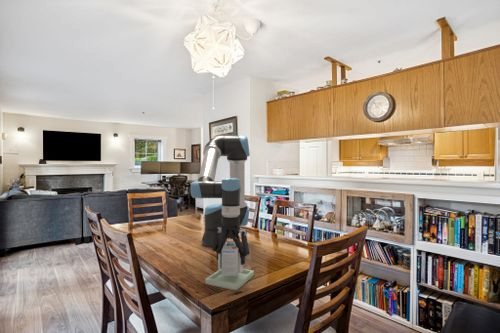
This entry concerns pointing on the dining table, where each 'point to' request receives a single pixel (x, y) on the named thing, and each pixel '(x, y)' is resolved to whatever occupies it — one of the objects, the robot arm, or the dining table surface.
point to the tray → (229, 279)
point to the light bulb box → (230, 259)
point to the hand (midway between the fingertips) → (230, 270)
